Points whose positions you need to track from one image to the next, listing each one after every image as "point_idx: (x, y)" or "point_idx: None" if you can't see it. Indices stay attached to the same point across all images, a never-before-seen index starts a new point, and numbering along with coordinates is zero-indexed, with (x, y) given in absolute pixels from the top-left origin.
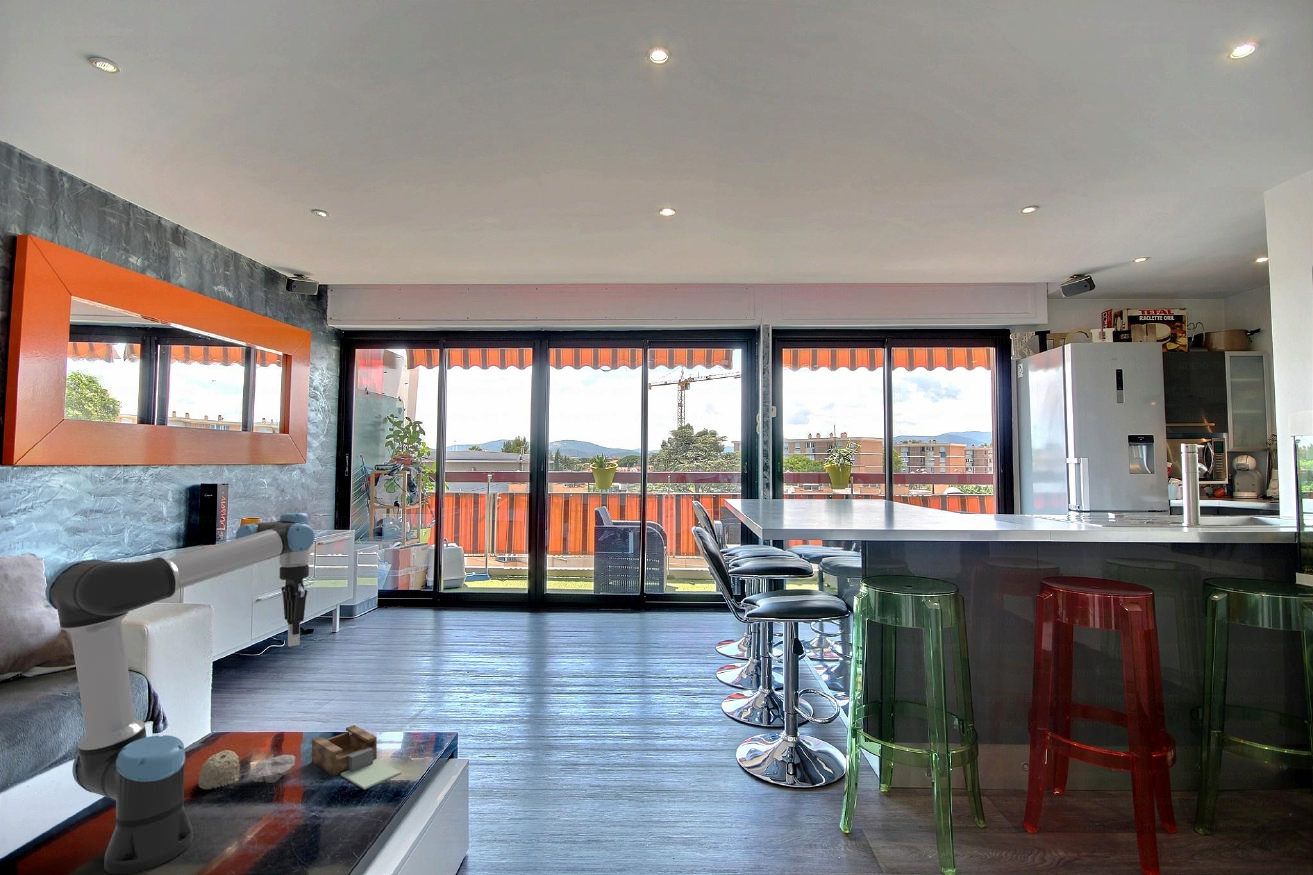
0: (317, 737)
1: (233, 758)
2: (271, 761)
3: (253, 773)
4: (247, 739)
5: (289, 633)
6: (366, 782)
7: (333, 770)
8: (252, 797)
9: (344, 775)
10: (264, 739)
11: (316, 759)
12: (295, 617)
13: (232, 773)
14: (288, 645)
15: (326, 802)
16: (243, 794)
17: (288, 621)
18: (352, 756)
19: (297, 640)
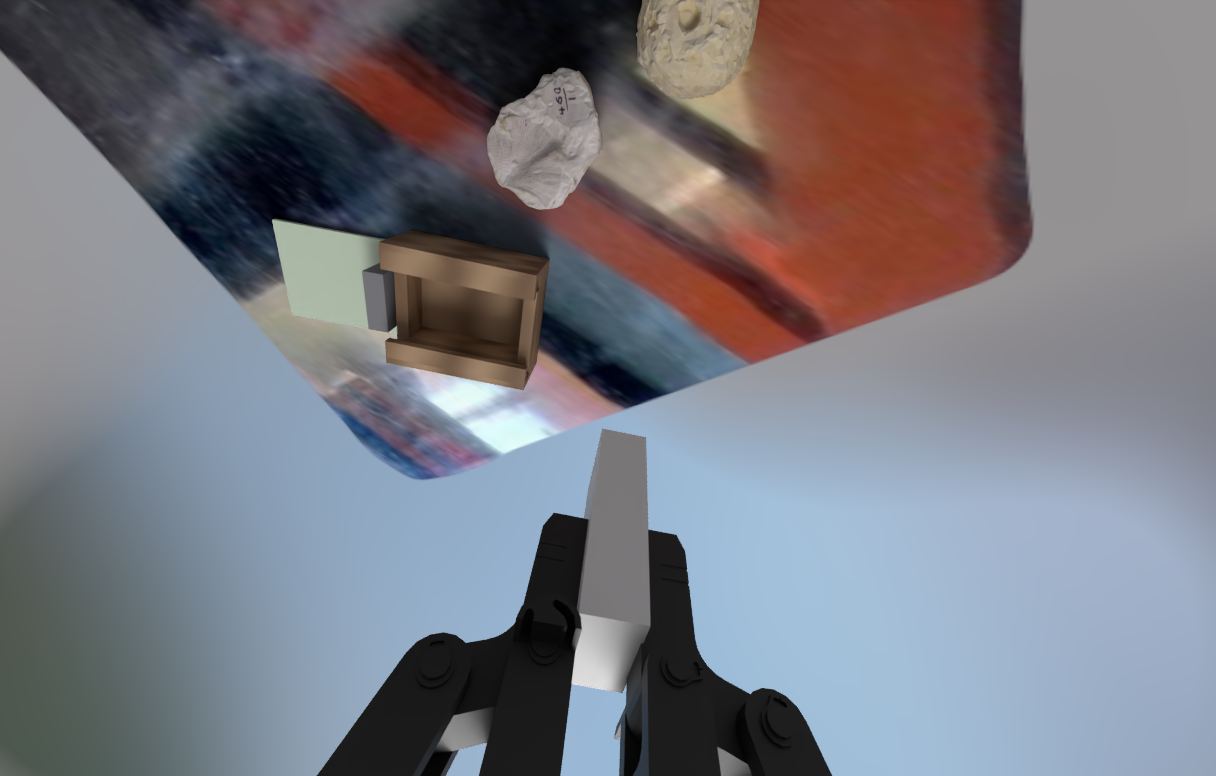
0: (534, 291)
1: (658, 51)
2: (570, 150)
3: (564, 79)
4: (887, 270)
5: (604, 514)
6: (297, 240)
7: (405, 232)
8: (478, 20)
9: (380, 240)
10: (828, 292)
11: (515, 255)
12: (351, 728)
13: (638, 43)
14: (633, 437)
15: (275, 120)
16: (523, 17)
17: (650, 657)
18: (367, 275)
19: (588, 501)
